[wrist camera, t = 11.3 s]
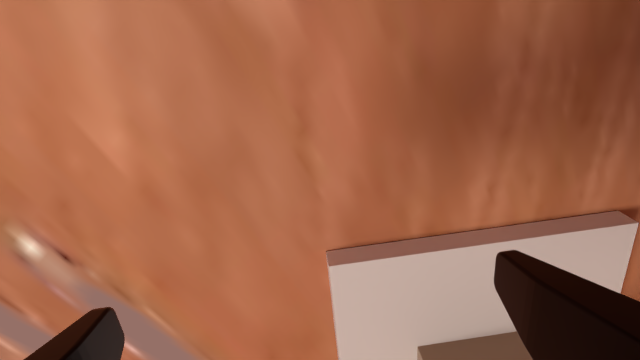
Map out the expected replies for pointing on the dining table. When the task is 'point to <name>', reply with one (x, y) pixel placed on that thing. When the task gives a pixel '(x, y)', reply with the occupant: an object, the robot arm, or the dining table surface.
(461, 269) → the build board
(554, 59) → the dining table surface
